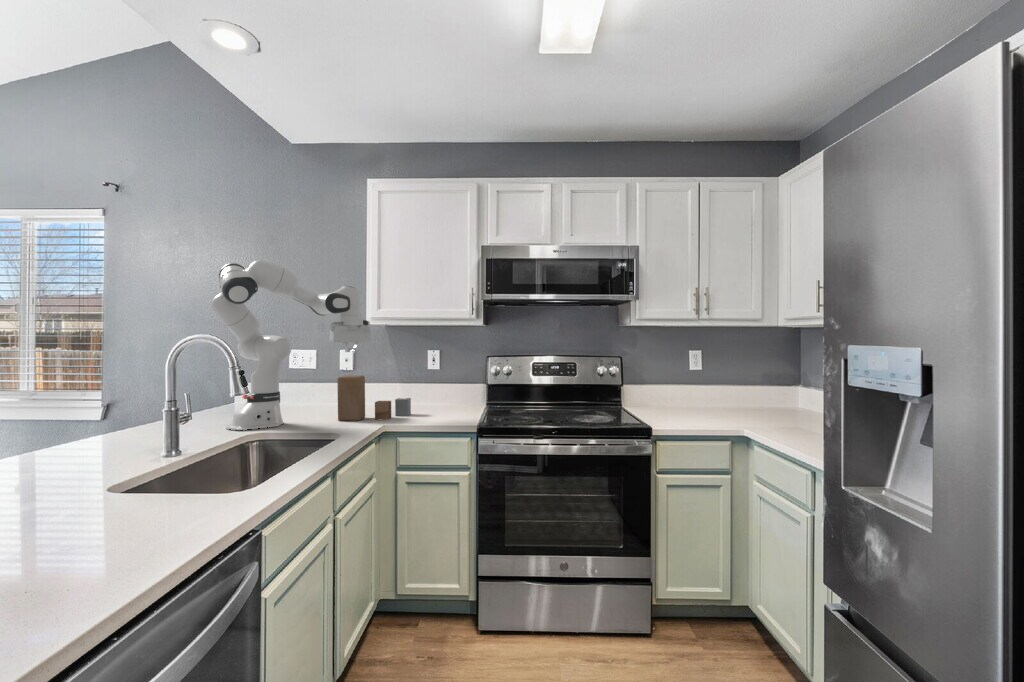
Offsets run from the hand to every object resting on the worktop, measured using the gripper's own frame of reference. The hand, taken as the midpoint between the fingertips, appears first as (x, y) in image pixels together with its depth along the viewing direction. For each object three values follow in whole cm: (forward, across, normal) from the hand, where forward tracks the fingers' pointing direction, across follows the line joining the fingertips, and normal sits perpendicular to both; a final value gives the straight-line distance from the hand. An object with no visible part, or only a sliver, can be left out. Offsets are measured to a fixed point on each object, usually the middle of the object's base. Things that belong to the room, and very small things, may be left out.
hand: (350, 352), depth 238 cm
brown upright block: (+31, +10, -10) cm, 34 cm away
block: (+31, 0, 0) cm, 31 cm away
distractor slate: (+31, +22, -10) cm, 40 cm away
